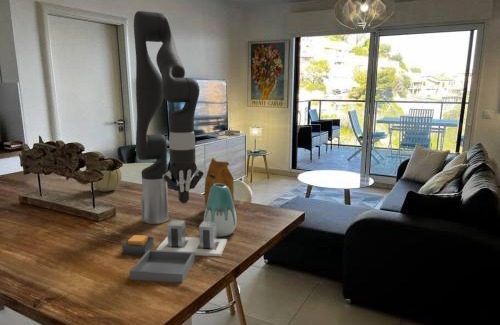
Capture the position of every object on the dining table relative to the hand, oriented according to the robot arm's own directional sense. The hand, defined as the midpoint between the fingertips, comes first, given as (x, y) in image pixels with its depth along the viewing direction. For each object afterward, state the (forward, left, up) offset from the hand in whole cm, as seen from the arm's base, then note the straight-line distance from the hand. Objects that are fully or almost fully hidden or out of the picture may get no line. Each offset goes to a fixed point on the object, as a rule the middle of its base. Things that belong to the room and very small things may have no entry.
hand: (183, 202), depth 113 cm
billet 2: (+7, +1, -16) cm, 17 cm away
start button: (-14, -3, -13) cm, 19 cm away
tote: (-2, -14, -16) cm, 22 cm away
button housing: (-14, -3, -16) cm, 21 cm away
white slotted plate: (+2, +1, -16) cm, 16 cm away
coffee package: (+3, +39, -16) cm, 42 cm away
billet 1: (-3, +1, -16) cm, 16 cm away
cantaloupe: (-58, +63, -16) cm, 87 cm away
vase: (+8, +16, -16) cm, 24 cm away
